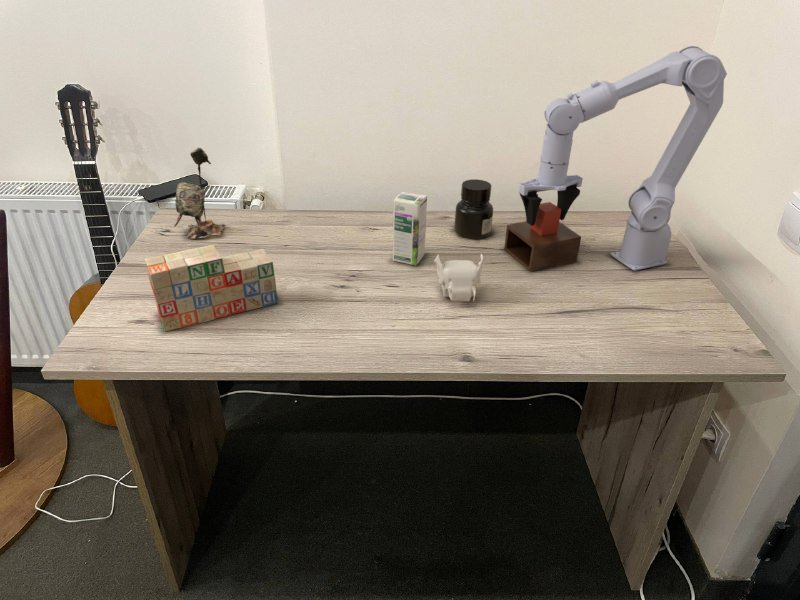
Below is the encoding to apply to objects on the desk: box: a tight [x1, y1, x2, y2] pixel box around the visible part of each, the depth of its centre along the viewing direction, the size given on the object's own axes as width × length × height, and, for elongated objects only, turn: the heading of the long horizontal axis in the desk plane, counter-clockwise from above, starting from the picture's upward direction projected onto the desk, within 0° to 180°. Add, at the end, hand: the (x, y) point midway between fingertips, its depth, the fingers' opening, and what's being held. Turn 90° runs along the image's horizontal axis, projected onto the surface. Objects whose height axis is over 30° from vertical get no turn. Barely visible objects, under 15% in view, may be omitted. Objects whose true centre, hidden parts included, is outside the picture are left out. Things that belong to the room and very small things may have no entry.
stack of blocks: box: [144, 244, 279, 332], centre depth 111 cm, size 21×6×12 cm, turn 117°
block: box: [531, 201, 561, 236], centre depth 130 cm, size 4×4×6 cm
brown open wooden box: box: [503, 220, 582, 272], centre depth 133 cm, size 12×11×6 cm
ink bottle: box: [453, 178, 494, 240], centre depth 142 cm, size 10×9×12 cm
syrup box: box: [392, 191, 428, 266], centre depth 129 cm, size 6×6×14 cm
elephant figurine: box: [433, 253, 484, 302], centre depth 118 cm, size 10×12×9 cm
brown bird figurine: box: [173, 147, 227, 240], centre depth 137 cm, size 8×11×20 cm
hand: (545, 221), depth 130 cm, fingers open, 7 cm apart
